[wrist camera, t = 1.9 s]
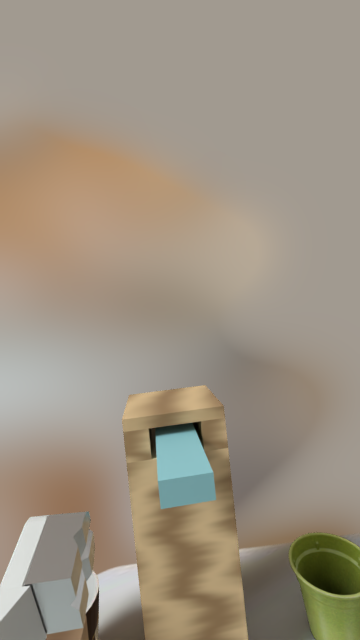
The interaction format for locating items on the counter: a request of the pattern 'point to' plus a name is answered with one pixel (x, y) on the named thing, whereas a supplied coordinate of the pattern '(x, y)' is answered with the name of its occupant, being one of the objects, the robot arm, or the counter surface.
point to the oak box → (184, 525)
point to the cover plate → (182, 467)
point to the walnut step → (70, 634)
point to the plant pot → (329, 584)
